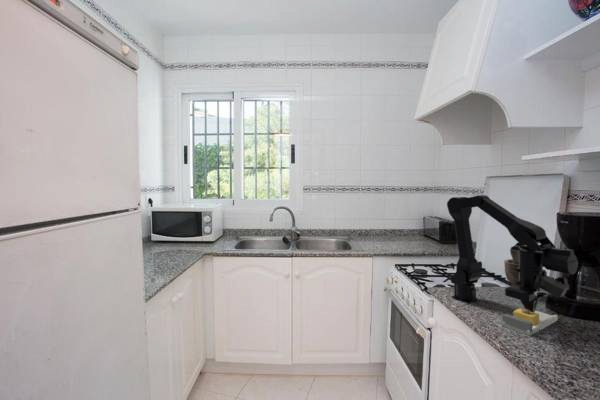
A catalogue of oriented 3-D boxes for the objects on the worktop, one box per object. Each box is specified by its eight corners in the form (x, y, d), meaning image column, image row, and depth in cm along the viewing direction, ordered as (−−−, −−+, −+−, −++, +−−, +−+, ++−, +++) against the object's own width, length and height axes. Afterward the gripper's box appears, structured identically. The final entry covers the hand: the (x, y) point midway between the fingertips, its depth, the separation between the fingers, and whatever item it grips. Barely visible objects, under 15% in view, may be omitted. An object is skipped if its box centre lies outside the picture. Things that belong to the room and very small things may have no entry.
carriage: (513, 320, 86) (513, 308, 86) (519, 317, 88) (519, 305, 88) (532, 327, 82) (532, 314, 82) (539, 323, 84) (539, 311, 84)
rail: (502, 325, 85) (502, 314, 85) (530, 312, 94) (530, 302, 94) (529, 336, 79) (529, 324, 79) (557, 320, 88) (557, 309, 88)
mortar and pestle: (538, 302, 101) (537, 248, 100) (509, 299, 105) (508, 247, 104) (528, 292, 111) (528, 242, 110) (502, 289, 115) (502, 241, 114)
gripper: (550, 278, 75) (550, 334, 75) (577, 266, 83) (577, 317, 84) (503, 268, 84) (504, 318, 85) (532, 259, 93) (532, 304, 94)
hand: (530, 314), depth 87 cm, fingers closed
